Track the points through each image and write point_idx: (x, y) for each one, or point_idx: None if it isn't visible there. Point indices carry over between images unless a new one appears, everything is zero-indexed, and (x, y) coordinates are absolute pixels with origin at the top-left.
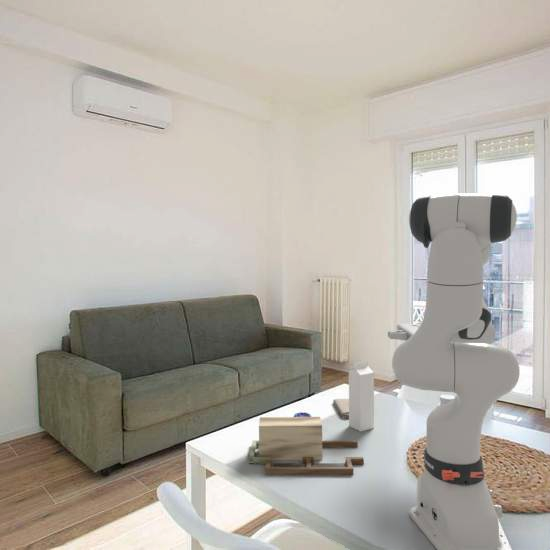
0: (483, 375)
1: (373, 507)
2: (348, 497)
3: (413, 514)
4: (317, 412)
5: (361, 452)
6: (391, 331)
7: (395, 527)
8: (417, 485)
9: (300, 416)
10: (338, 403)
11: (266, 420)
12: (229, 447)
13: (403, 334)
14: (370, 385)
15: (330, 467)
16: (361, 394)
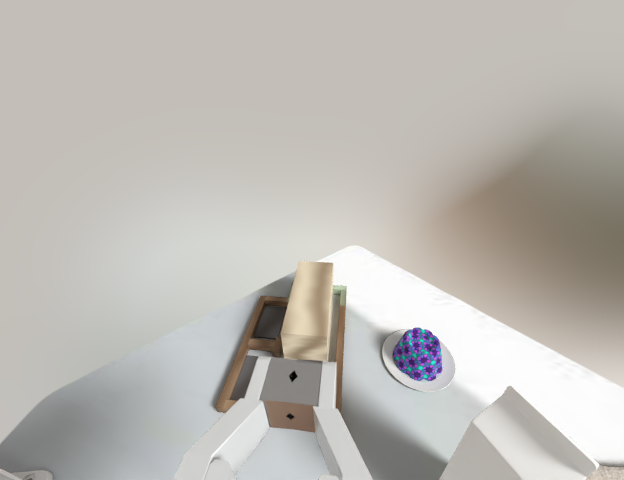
0: None
1: (114, 416)
2: (160, 385)
3: (31, 471)
4: (538, 405)
5: (301, 458)
6: (327, 384)
7: (50, 433)
8: (10, 474)
9: (419, 338)
10: (616, 470)
11: (319, 268)
12: (341, 271)
13: (185, 470)
14: None
15: (236, 370)
16: (457, 460)
